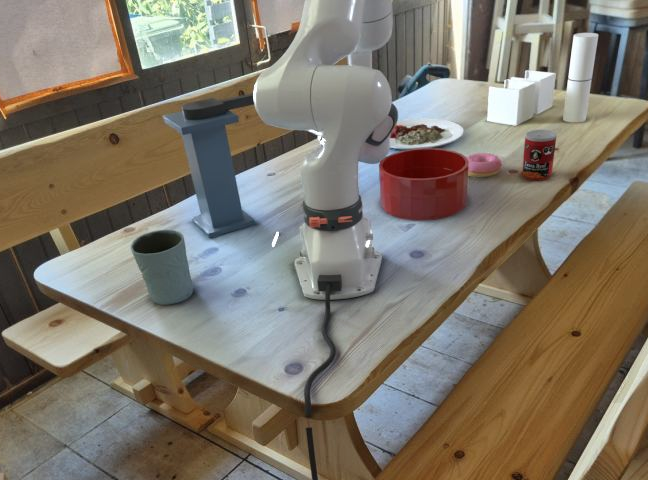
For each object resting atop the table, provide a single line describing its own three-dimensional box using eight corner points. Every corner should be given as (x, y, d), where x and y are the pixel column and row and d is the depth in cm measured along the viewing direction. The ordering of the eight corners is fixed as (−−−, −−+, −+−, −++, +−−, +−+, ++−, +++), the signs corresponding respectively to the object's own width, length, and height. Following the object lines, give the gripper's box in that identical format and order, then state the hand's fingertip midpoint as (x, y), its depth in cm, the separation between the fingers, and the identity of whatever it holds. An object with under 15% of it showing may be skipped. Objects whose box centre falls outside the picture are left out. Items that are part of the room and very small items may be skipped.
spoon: (254, 99, 142) (253, 89, 140) (267, 104, 137) (265, 94, 136) (179, 115, 134) (177, 105, 133) (189, 122, 129) (187, 111, 128)
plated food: (462, 153, 178) (462, 141, 176) (362, 154, 183) (362, 143, 181) (464, 122, 201) (464, 112, 199) (376, 125, 206) (375, 114, 204)
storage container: (516, 125, 195) (519, 90, 189) (487, 121, 201) (488, 86, 195) (552, 106, 210) (556, 73, 203) (524, 102, 216) (526, 70, 209)
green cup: (178, 276, 128) (163, 225, 121) (208, 290, 122) (194, 237, 115) (137, 298, 122) (119, 245, 115) (167, 313, 116) (150, 258, 109)
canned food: (518, 179, 159) (521, 137, 152) (526, 169, 164) (530, 128, 158) (547, 182, 155) (552, 140, 149) (554, 172, 161) (559, 130, 154)
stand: (237, 207, 156) (216, 103, 140) (258, 224, 147) (238, 115, 131) (189, 221, 151) (162, 115, 135) (208, 239, 142) (181, 128, 126)
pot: (474, 216, 142) (476, 175, 136) (384, 223, 142) (382, 183, 136) (458, 182, 159) (460, 145, 154) (378, 189, 160) (376, 152, 154)
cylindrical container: (562, 122, 195) (573, 37, 180) (563, 115, 200) (573, 33, 185) (585, 122, 193) (598, 36, 178) (585, 116, 198) (598, 32, 184)
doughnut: (489, 182, 158) (490, 166, 156) (453, 175, 164) (453, 160, 161) (508, 169, 165) (509, 154, 163) (473, 162, 171) (473, 148, 168)
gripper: (319, 113, 160) (275, 95, 151) (360, 130, 146) (314, 110, 137) (311, 136, 162) (267, 119, 153) (351, 155, 148) (305, 137, 139)
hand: (290, 115), depth 145 cm, fingers open, 8 cm apart
